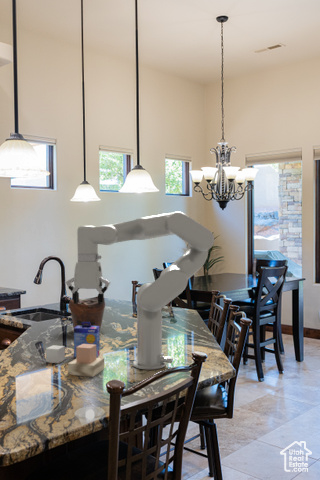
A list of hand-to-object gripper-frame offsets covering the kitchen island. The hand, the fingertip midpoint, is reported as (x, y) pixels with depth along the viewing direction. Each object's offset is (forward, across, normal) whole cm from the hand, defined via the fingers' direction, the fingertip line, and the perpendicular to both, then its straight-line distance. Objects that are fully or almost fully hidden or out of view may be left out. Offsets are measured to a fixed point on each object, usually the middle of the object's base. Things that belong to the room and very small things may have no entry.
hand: (88, 303), depth 182 cm
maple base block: (+24, -1, +5) cm, 25 cm away
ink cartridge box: (+24, +7, -15) cm, 30 cm away
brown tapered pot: (+24, +25, -60) cm, 70 cm away
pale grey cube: (+24, +17, -6) cm, 30 cm away
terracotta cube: (+20, -1, +5) cm, 21 cm away
